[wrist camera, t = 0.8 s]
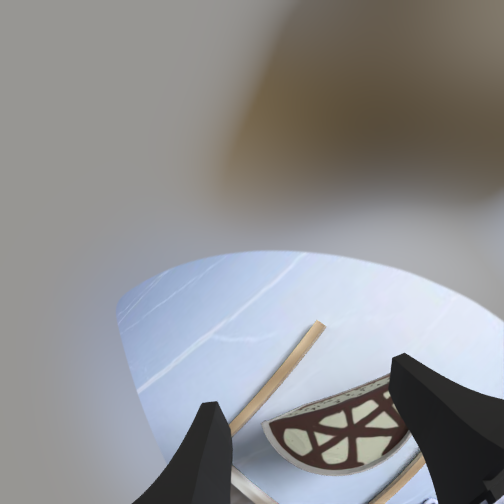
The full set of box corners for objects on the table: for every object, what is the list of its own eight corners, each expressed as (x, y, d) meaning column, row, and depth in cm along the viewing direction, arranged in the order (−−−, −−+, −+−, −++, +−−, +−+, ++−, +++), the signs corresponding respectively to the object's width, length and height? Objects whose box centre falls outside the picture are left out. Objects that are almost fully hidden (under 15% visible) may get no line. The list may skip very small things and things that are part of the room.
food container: (305, 458, 22) (275, 496, 13) (291, 407, 25) (253, 425, 16) (422, 418, 19) (449, 442, 10) (406, 365, 22) (428, 364, 14)
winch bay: (457, 416, 17) (475, 425, 13) (320, 545, 15) (309, 569, 11) (318, 321, 27) (308, 311, 23) (203, 453, 25) (176, 462, 21)
